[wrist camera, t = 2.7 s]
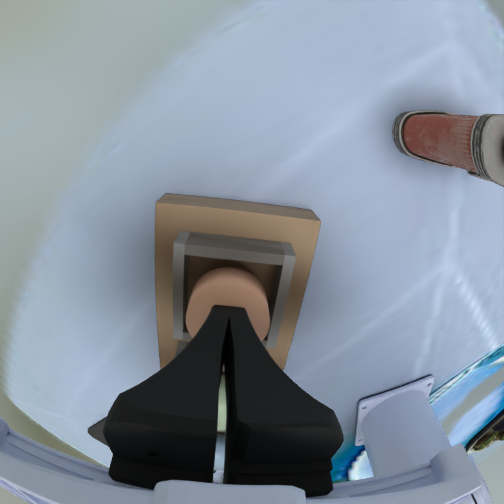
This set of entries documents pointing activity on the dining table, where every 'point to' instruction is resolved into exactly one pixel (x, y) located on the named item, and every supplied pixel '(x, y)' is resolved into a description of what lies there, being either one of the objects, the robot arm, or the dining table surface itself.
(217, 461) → the slate blue button
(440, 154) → the lighter
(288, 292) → the button board
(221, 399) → the sage green button
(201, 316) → the terracotta button
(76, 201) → the dining table surface
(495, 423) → the salad plate
